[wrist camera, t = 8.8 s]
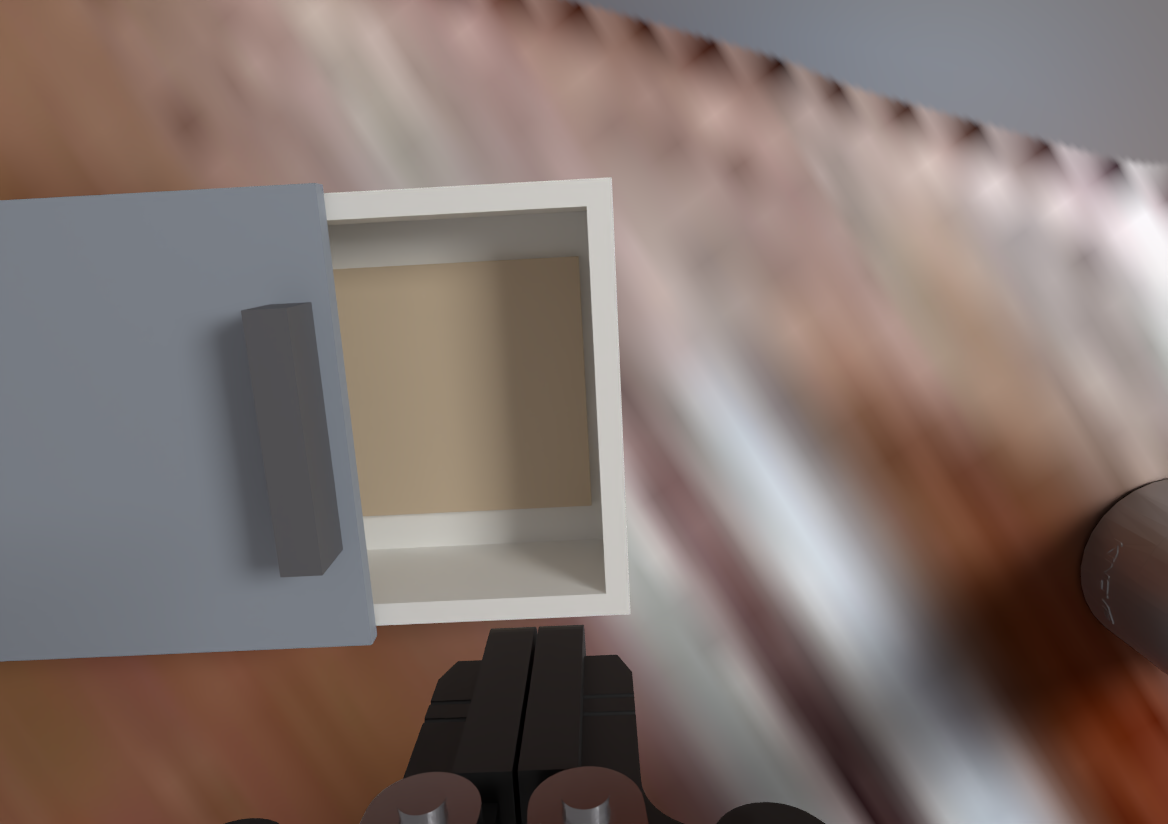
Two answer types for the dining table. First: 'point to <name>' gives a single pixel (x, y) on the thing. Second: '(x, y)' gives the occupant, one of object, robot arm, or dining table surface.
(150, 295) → the lid
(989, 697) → the dining table surface
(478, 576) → the box
